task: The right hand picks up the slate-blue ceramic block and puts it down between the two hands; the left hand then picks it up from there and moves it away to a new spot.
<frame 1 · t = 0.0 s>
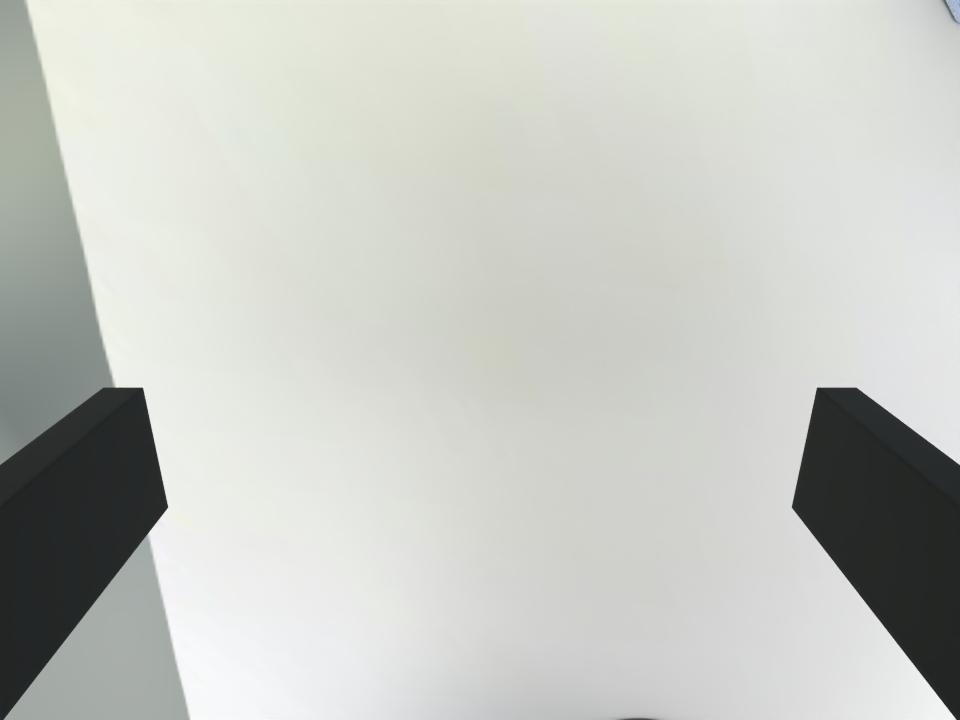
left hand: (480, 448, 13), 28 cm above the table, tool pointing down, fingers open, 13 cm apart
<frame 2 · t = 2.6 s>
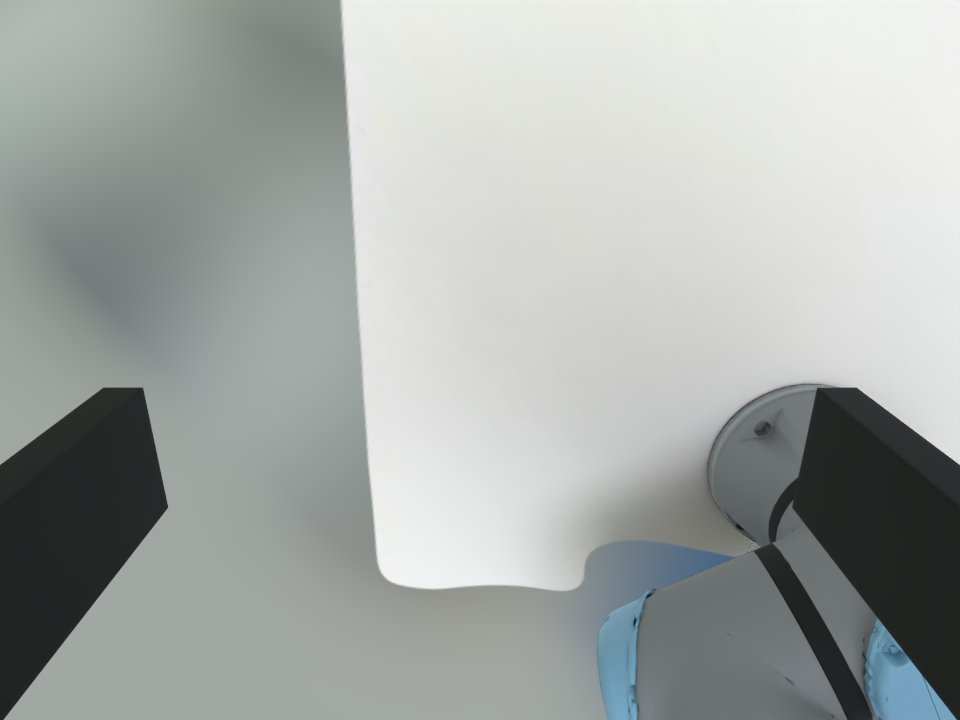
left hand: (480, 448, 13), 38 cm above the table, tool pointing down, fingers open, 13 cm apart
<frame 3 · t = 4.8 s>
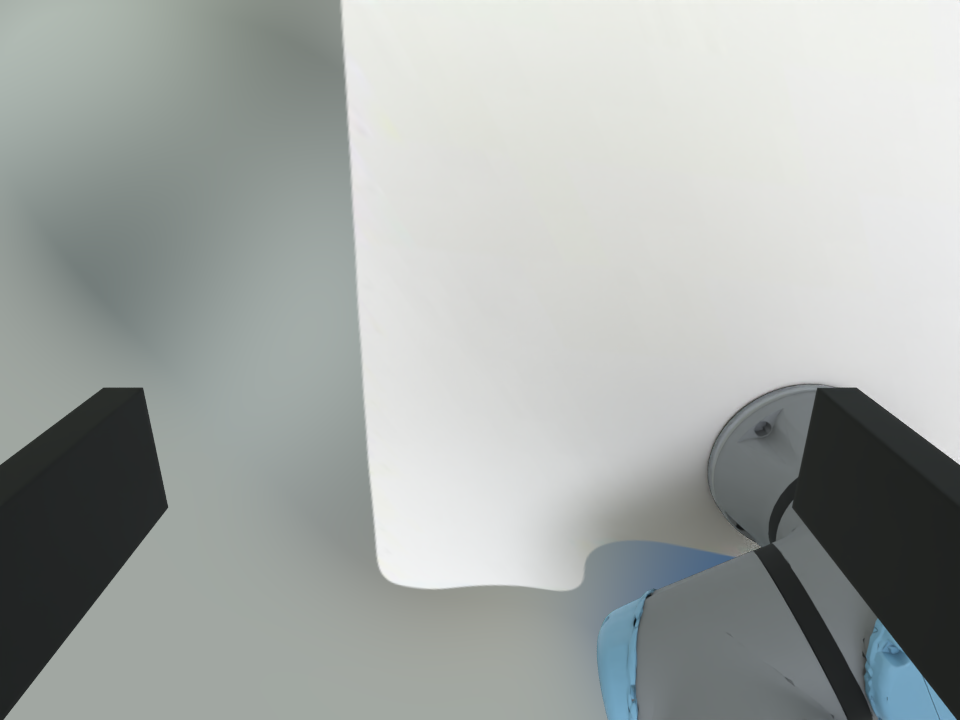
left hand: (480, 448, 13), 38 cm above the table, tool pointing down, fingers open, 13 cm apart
when the right hand's fingers open (2 cm above the table, at t = 7.0 s): block stays where it is, on the table.
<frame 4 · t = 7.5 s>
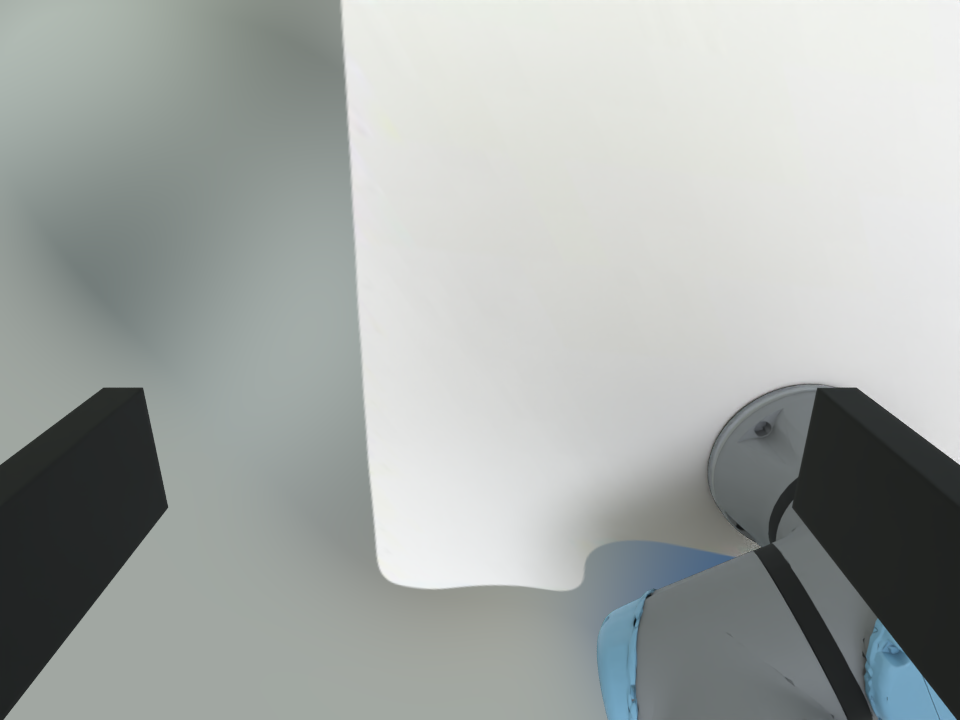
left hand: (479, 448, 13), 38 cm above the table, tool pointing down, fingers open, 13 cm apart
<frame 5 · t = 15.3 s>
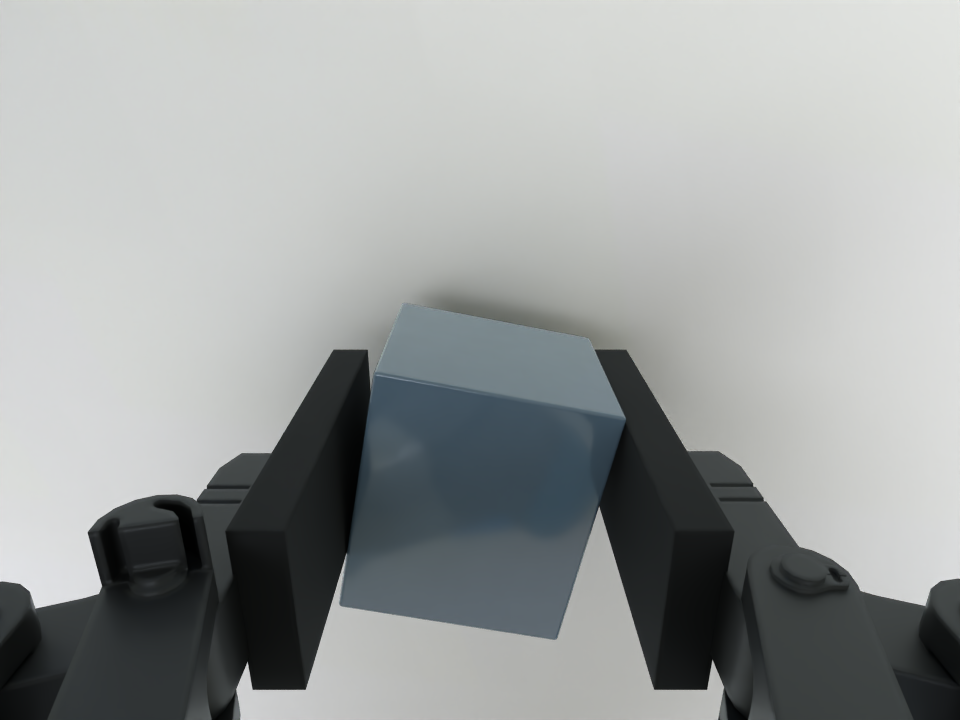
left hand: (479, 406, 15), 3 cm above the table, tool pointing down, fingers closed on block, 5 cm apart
block: (475, 417, 15), point 2 cm above the table, touching left hand
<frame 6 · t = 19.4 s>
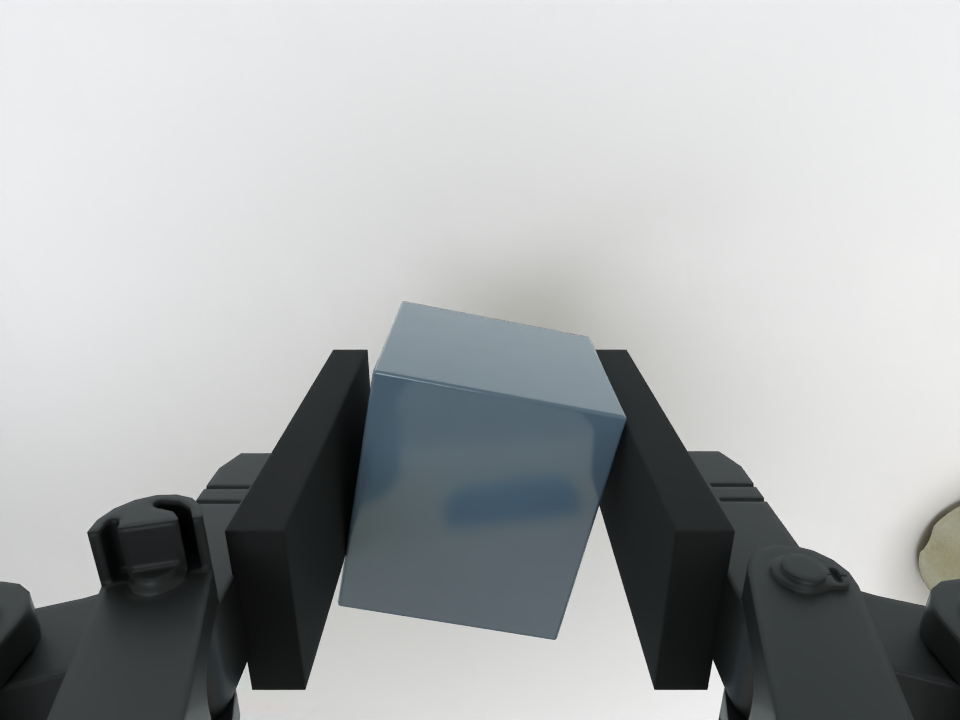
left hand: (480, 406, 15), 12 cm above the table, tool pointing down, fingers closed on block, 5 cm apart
block: (475, 416, 15), point 12 cm above the table, touching left hand
when the left hand's fingers open (0 cm above the table, at t = 23.7 s): block stays where it is, on the table.
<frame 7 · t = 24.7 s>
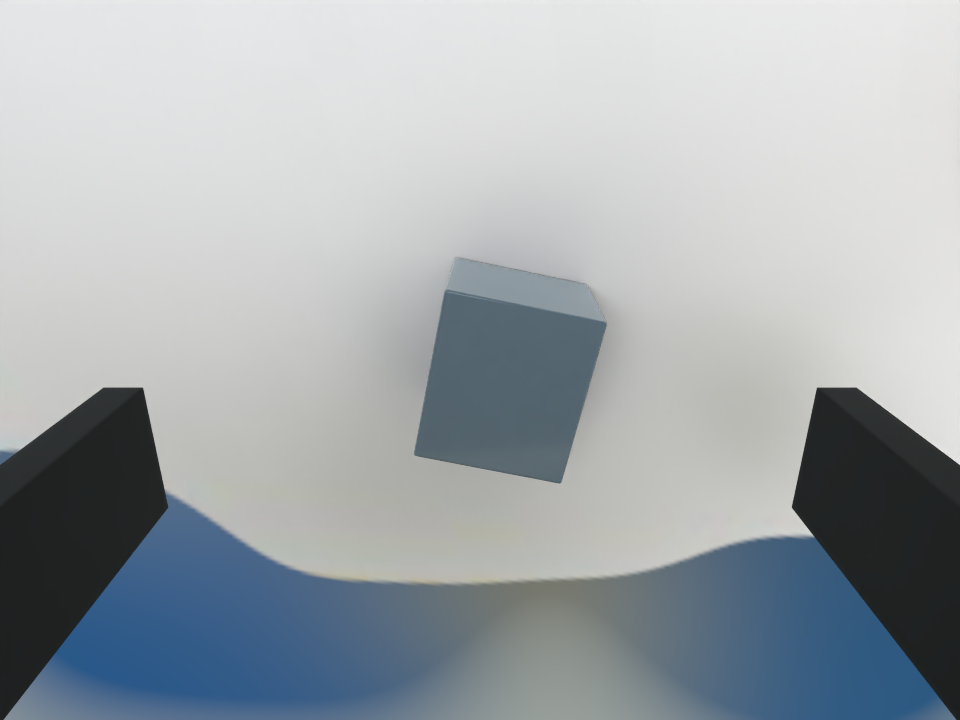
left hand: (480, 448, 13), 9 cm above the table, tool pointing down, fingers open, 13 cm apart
block: (505, 342, 21), on the table
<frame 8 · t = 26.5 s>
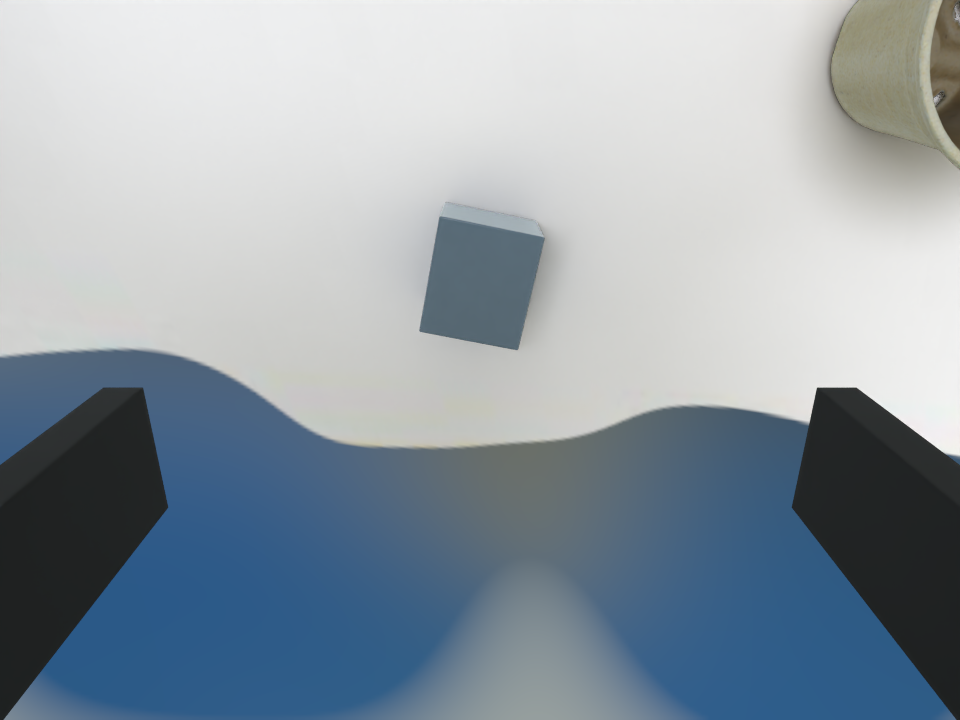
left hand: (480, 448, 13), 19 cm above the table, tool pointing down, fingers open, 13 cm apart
flower pot: (902, 51, 27), on the table
block: (480, 263, 30), on the table
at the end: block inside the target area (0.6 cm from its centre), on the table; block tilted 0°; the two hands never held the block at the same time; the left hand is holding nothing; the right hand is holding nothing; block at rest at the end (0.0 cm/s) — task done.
